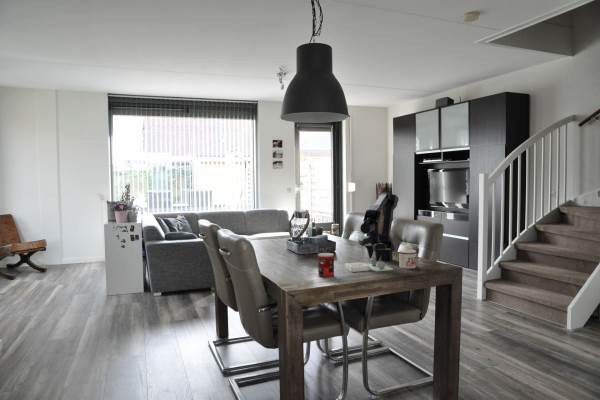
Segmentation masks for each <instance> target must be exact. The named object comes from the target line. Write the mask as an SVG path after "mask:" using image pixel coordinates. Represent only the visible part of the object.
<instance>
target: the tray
mask: <svg viewBox="0 0 600 400" xmlns="http://www.w3.org/2000/svg"><path fill="white" fill-rule="evenodd" d="M379 262H380V261H378V262H377V264H378V263H379ZM364 263H365V264H367V265H369V266H370V270H372V271H374V272H386V271H387V272H388V271H394V267H393V268H392V267H390V266H388V265H386V264H385V267H384V269H379V268H378V266H377V264H376V265H374V266H373V265H371V263H370V262H364Z"/></svg>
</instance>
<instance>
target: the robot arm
mask: <svg viewBox="0 0 600 400" xmlns="http://www.w3.org/2000/svg"><path fill="white" fill-rule="evenodd" d="M399 201H400V200H399V196H397V194H393V193H390V192H380V194H379V197H378V198H377V199H376V201H375V202H374V204H373V205H371V206H369V207H368V208H367V209H366V211H365V213H364V217H363V220H362V221H363V223H362V224H361V225H360V227H359V229H360V232H361V233H362V234H364V235H366V236H363V237H360V238H358V239H357V241H358V245H359V246H361V247H364V248H365V249H366V251H367V255H368V257H369V259H372V257H373V254H374V255H375V259H376V261H378V262H381V261H382V262H391V261H394V258H393V252H395V250H396V246H395V243H394V241H393V237H392V235H391V233H392V223H393V219H394V218H393V216H394V210H395V209H396V208H397V207H398V203H399ZM383 208H385V209H384V216H383V224H382V229H381V231H382V232H381V233H380V222H381V220H380V219H381V216H382V209H383Z"/></svg>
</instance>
